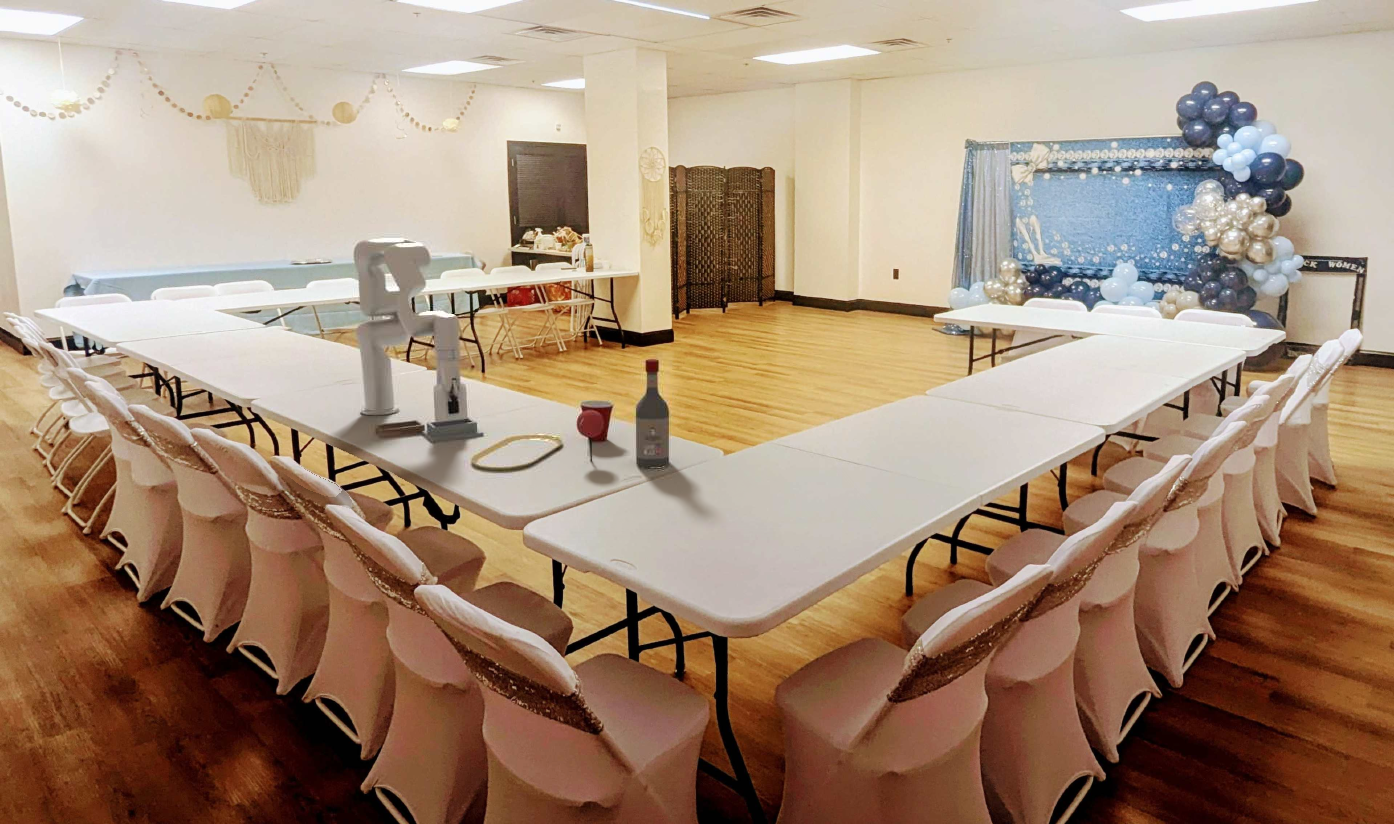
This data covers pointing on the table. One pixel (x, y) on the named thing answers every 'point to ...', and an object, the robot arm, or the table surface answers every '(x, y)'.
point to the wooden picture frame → (399, 429)
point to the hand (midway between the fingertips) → (451, 411)
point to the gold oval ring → (509, 440)
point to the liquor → (652, 423)
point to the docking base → (451, 430)
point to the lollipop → (590, 425)
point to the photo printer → (442, 404)
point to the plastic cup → (605, 412)
